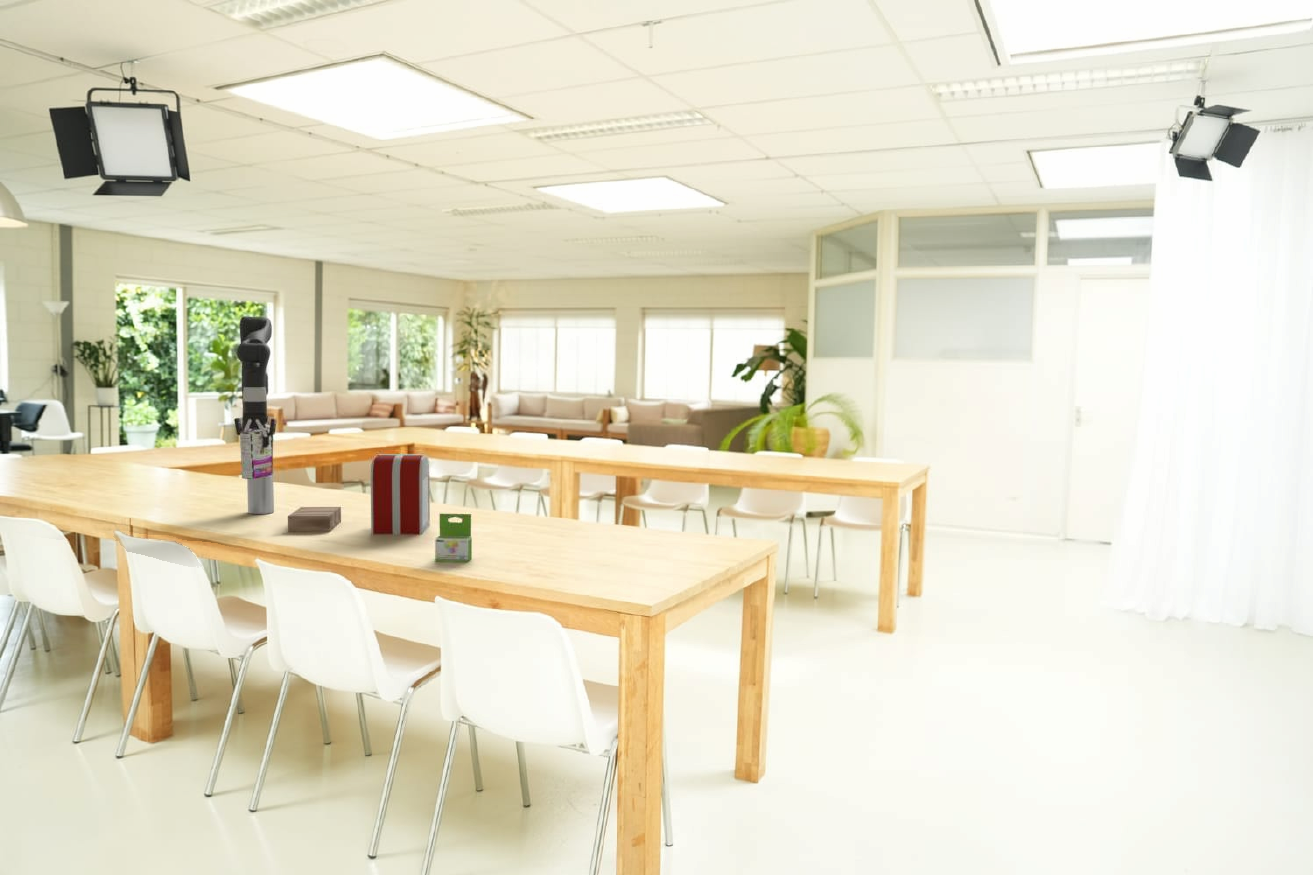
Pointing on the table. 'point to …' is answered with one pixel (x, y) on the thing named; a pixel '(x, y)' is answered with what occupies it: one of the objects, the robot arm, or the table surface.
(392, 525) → the red grey rounded block
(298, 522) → the walnut block
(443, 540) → the ink box
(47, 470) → the table surface
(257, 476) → the candy bar box
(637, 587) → the table surface
